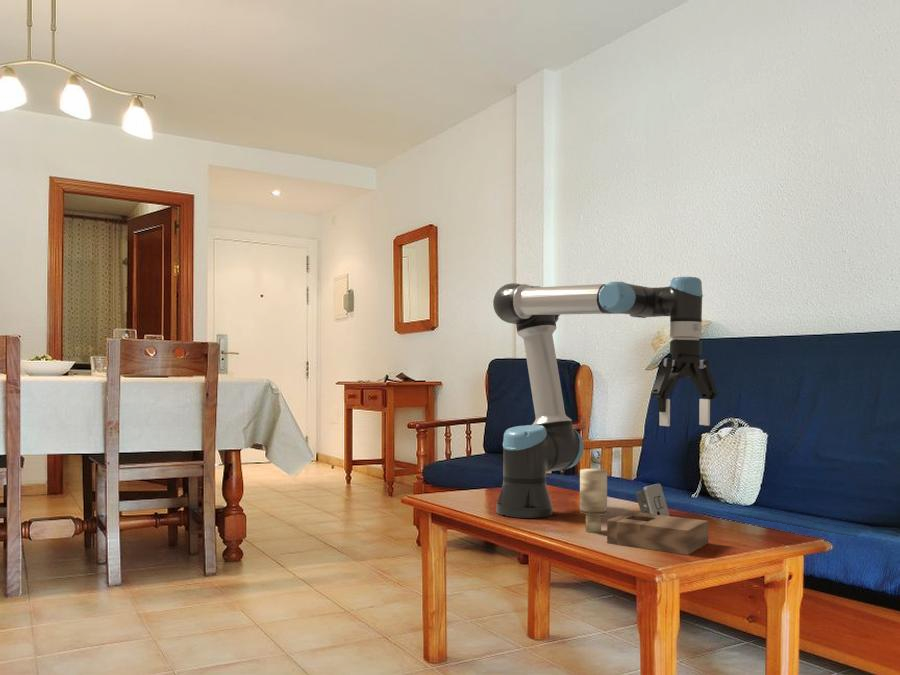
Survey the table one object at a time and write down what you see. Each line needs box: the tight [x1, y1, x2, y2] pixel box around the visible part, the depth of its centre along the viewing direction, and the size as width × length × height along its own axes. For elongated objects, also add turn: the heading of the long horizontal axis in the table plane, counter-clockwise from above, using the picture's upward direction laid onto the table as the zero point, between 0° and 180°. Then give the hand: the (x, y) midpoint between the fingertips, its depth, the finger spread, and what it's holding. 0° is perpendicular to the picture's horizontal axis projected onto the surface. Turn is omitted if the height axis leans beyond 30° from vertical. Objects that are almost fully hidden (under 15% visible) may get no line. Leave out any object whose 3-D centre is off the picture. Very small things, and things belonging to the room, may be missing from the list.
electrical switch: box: [635, 483, 670, 516], centre depth 193 cm, size 9×5×9 cm, turn 141°
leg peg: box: [579, 468, 608, 534], centre depth 177 cm, size 6×6×14 cm
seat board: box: [606, 511, 709, 556], centre depth 165 cm, size 18×14×5 cm
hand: (684, 425), depth 182 cm, fingers open, 13 cm apart
